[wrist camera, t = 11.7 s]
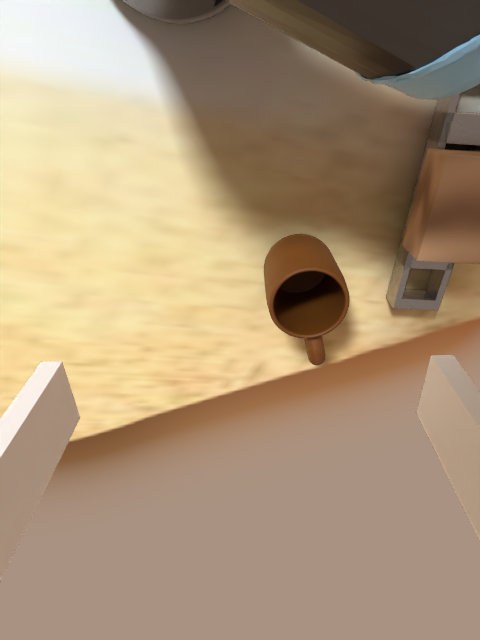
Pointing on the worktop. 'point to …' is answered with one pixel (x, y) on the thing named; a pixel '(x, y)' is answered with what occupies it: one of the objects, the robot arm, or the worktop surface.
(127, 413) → the worktop surface
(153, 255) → the worktop surface
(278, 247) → the mug
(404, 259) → the rail
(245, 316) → the worktop surface
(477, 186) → the tan cardboard box
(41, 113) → the worktop surface
